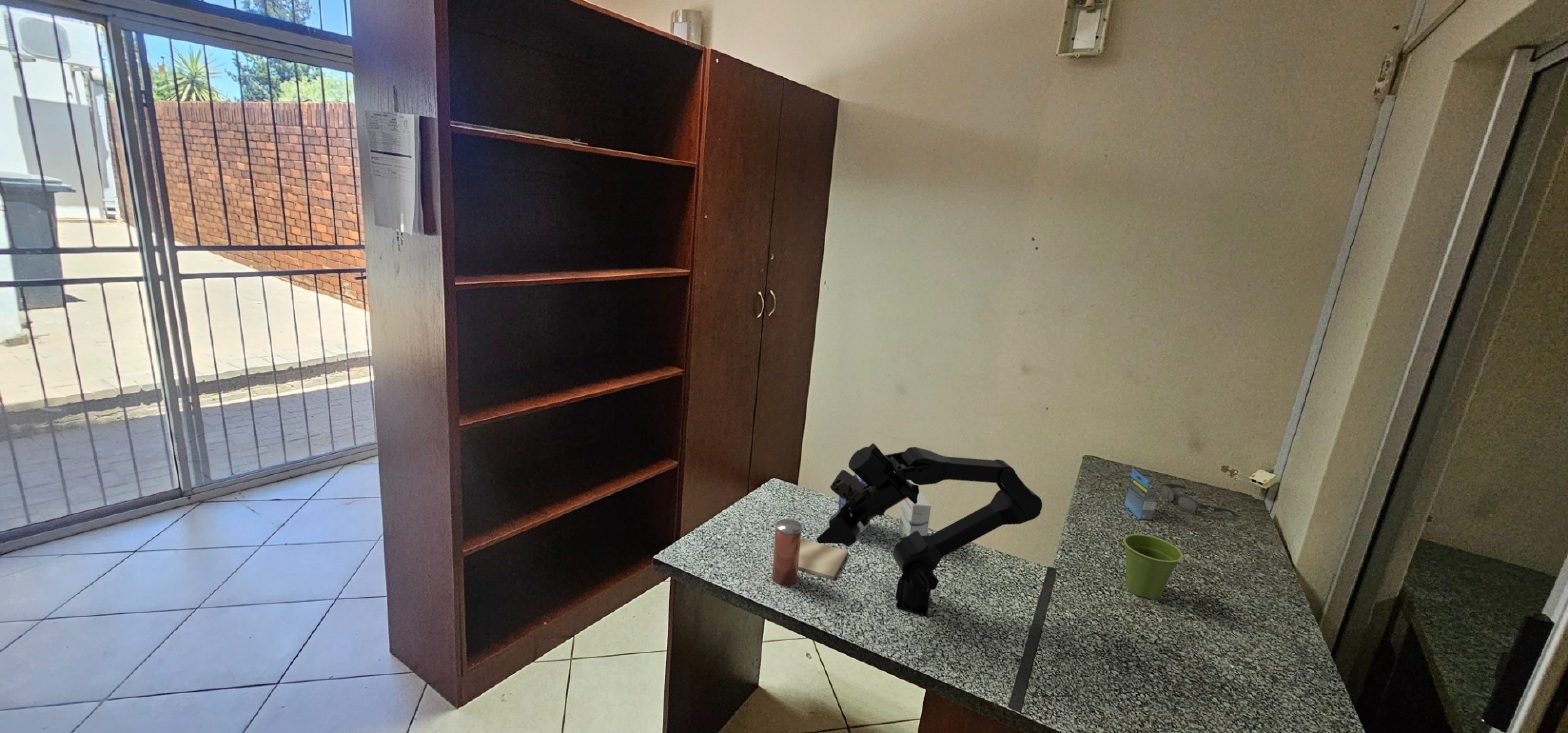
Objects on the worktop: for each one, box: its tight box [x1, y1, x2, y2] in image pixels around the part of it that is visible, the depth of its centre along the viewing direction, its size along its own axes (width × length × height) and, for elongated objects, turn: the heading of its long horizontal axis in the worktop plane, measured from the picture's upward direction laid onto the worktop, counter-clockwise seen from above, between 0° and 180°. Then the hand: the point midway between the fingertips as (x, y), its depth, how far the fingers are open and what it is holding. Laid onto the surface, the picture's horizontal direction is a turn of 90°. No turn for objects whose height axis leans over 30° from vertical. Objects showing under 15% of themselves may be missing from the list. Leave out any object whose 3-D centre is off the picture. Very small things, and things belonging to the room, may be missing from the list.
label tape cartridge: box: [1124, 467, 1159, 521], centre depth 179 cm, size 9×4×12 cm, turn 179°
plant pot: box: [1122, 533, 1184, 600], centre depth 140 cm, size 12×12×11 cm
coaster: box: [798, 538, 849, 580], centre depth 144 cm, size 12×12×1 cm
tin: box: [771, 518, 803, 587], centre depth 134 cm, size 6×6×13 cm
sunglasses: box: [1160, 483, 1236, 515], centre depth 189 cm, size 16×17×5 cm
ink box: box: [897, 490, 932, 538], centre depth 155 cm, size 9×5×12 cm, turn 6°
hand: (824, 531), depth 129 cm, fingers open, 9 cm apart
